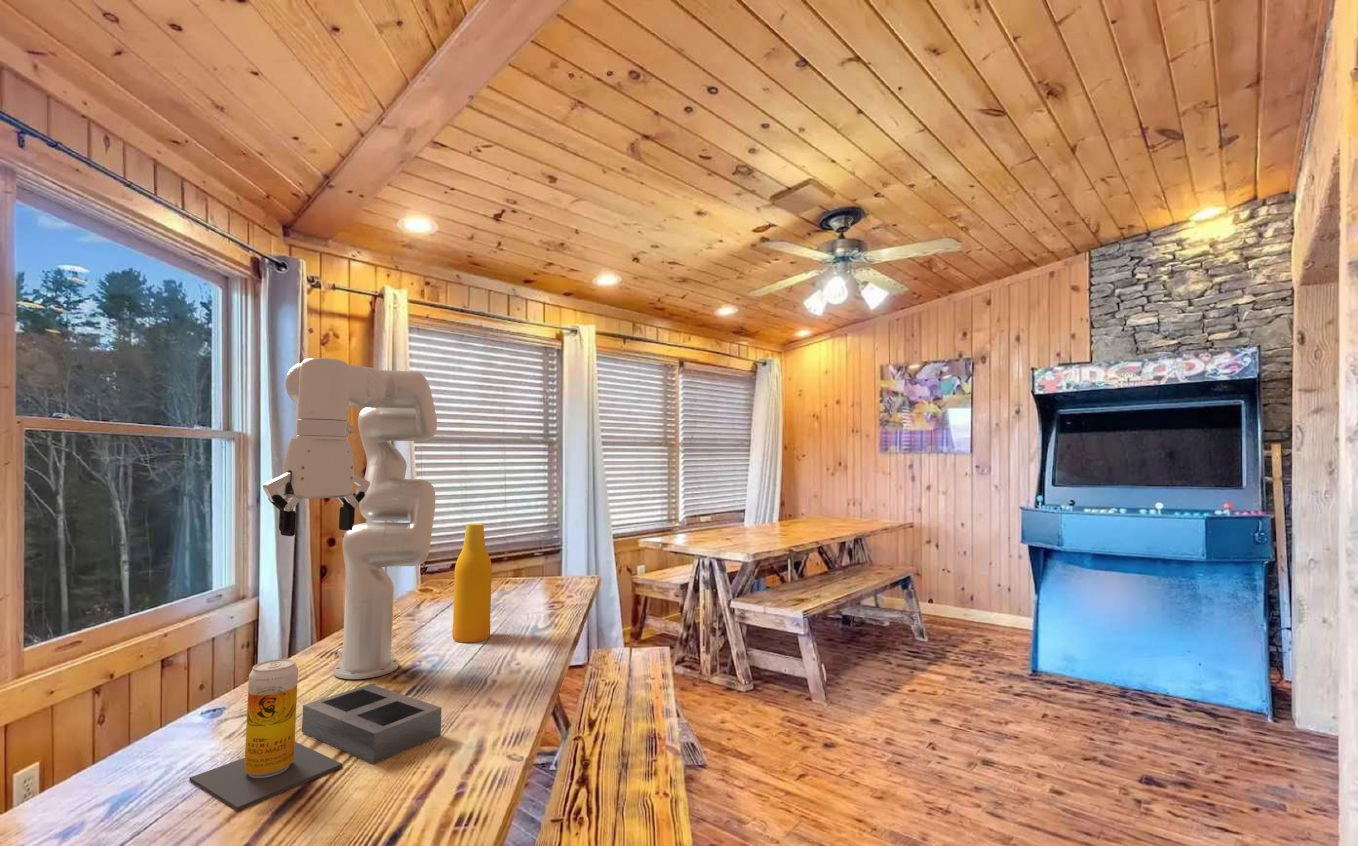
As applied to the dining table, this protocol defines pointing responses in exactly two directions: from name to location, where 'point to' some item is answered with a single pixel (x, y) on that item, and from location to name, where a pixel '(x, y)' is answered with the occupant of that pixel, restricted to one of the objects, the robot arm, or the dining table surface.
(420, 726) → the cinder block
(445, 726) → the dining table surface
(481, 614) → the beer bottle
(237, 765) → the mat
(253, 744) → the beer can
